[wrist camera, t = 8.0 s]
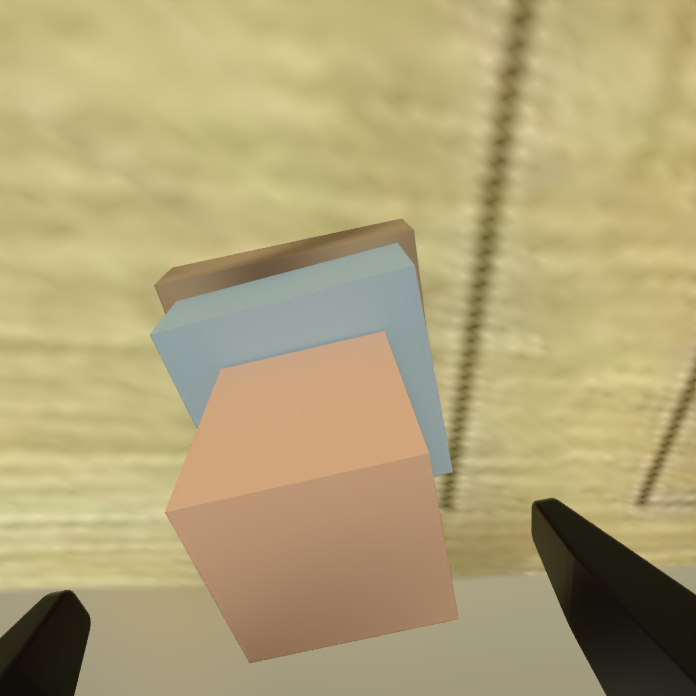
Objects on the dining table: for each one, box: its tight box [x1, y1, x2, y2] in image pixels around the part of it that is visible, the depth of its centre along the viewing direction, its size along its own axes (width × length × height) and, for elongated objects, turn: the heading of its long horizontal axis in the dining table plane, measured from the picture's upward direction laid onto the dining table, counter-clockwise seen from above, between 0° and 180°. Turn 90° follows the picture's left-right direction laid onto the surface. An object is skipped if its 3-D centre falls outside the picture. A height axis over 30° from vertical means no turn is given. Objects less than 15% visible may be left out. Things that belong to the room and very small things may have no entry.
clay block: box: [165, 331, 458, 663], centre depth 11 cm, size 4×4×5 cm
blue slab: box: [150, 243, 453, 477], centre depth 14 cm, size 7×7×2 cm
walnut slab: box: [154, 219, 426, 324], centre depth 16 cm, size 8×8×2 cm
